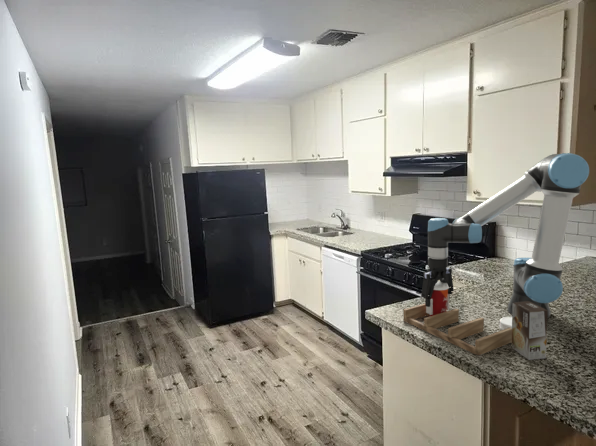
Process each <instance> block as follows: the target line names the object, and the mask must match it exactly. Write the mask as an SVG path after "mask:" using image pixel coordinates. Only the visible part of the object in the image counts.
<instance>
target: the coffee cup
mask: <svg viewBox="0 0 596 446" xmlns="http://www.w3.org/2000/svg"><path fill="white" fill-rule="evenodd" d="M448 289H449V286H448V284H447V283H443V282H440V280H438V282H437V283H436V284H435V286H434V289H433V290H434V291H433V294H432V297H431V298H432V299H433V315H437V314H440V313H443V312H446V311H448V310H447V297H448ZM433 315H429V317H430V316H433Z"/></svg>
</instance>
